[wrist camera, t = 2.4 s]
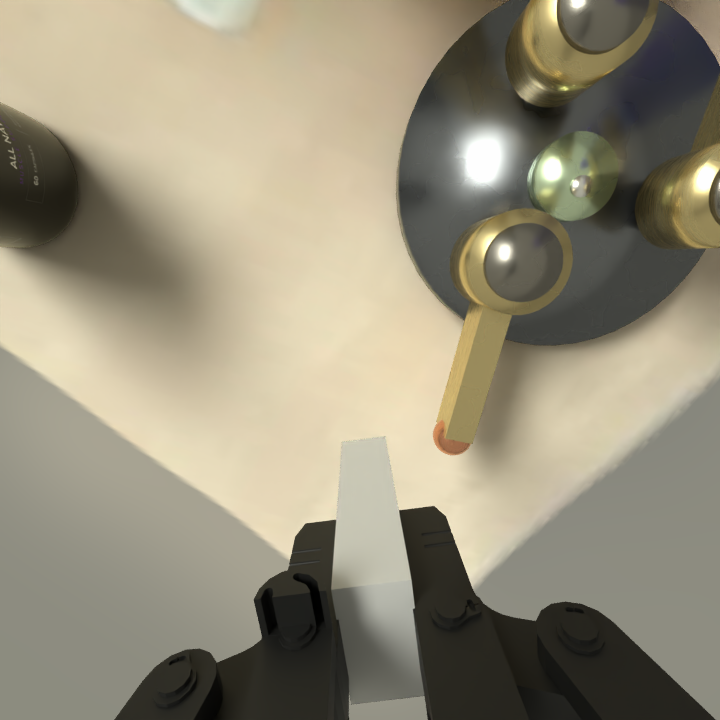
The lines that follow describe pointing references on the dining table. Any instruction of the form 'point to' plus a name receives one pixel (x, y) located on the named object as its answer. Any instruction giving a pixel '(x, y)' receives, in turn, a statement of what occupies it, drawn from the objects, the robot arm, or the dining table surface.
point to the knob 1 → (496, 305)
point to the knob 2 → (685, 191)
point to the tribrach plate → (554, 169)
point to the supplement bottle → (33, 182)
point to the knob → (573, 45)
